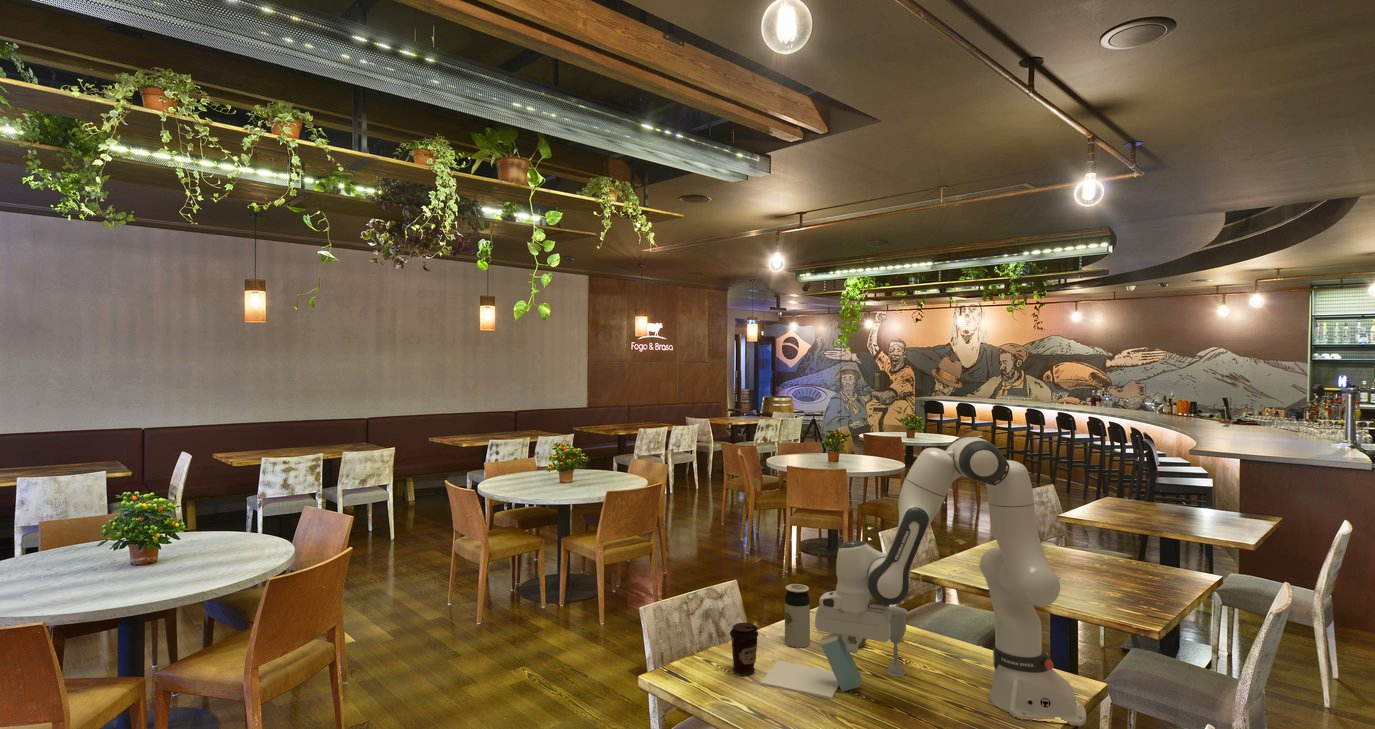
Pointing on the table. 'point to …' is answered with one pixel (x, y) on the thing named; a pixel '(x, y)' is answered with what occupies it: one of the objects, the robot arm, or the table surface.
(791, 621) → the travel mug
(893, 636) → the chalice
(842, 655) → the long block
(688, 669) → the table surface
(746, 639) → the coffee cup
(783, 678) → the mat
